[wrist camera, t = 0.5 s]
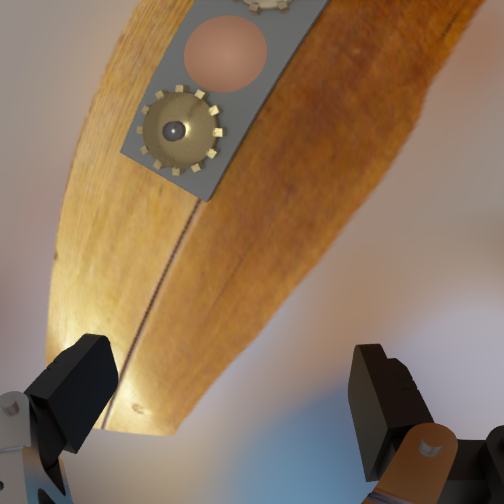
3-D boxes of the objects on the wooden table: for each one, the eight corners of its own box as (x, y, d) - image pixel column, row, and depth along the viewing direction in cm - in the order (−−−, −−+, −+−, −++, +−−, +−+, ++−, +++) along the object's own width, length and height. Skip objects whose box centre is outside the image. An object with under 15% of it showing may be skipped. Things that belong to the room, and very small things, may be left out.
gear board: (248, -64, 22) (245, -70, 21) (347, -25, 23) (348, -30, 21) (126, 150, 35) (119, 152, 34) (210, 198, 36) (206, 202, 35)
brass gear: (131, 114, 32) (116, 115, 29) (202, 70, 29) (191, 66, 26) (167, 186, 35) (155, 193, 32) (241, 149, 32) (235, 152, 29)
